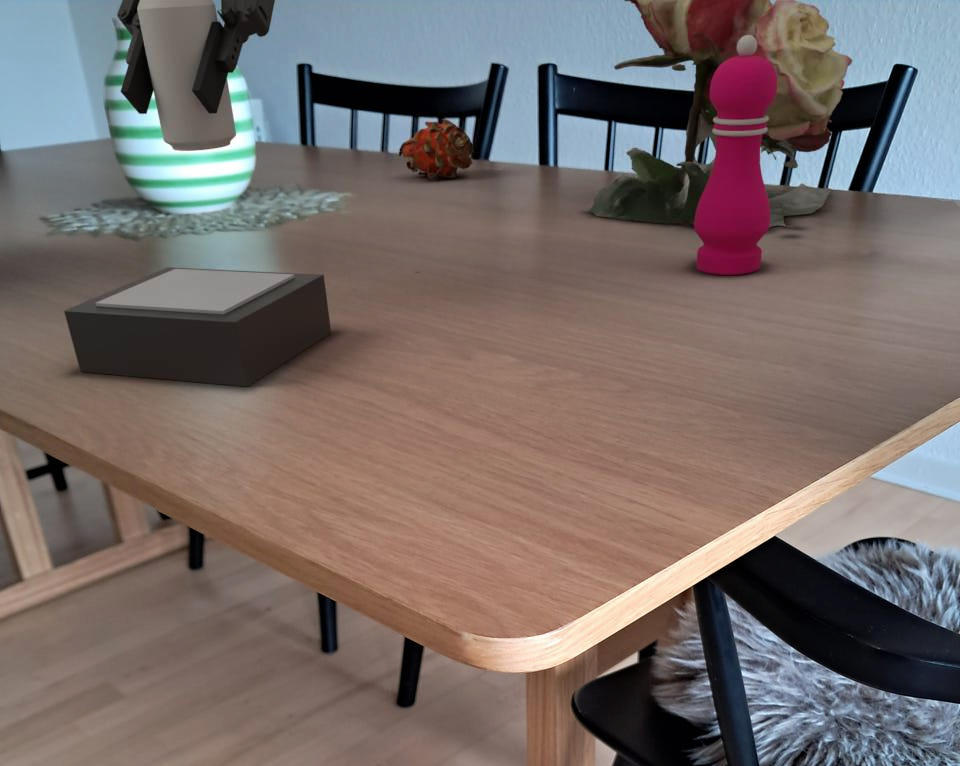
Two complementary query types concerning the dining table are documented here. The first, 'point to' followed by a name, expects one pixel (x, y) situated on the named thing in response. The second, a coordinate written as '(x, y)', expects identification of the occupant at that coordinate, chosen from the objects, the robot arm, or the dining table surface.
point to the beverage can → (183, 73)
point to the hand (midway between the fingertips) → (168, 102)
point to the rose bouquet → (709, 42)
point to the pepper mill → (736, 166)
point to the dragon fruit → (438, 150)
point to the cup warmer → (200, 325)
